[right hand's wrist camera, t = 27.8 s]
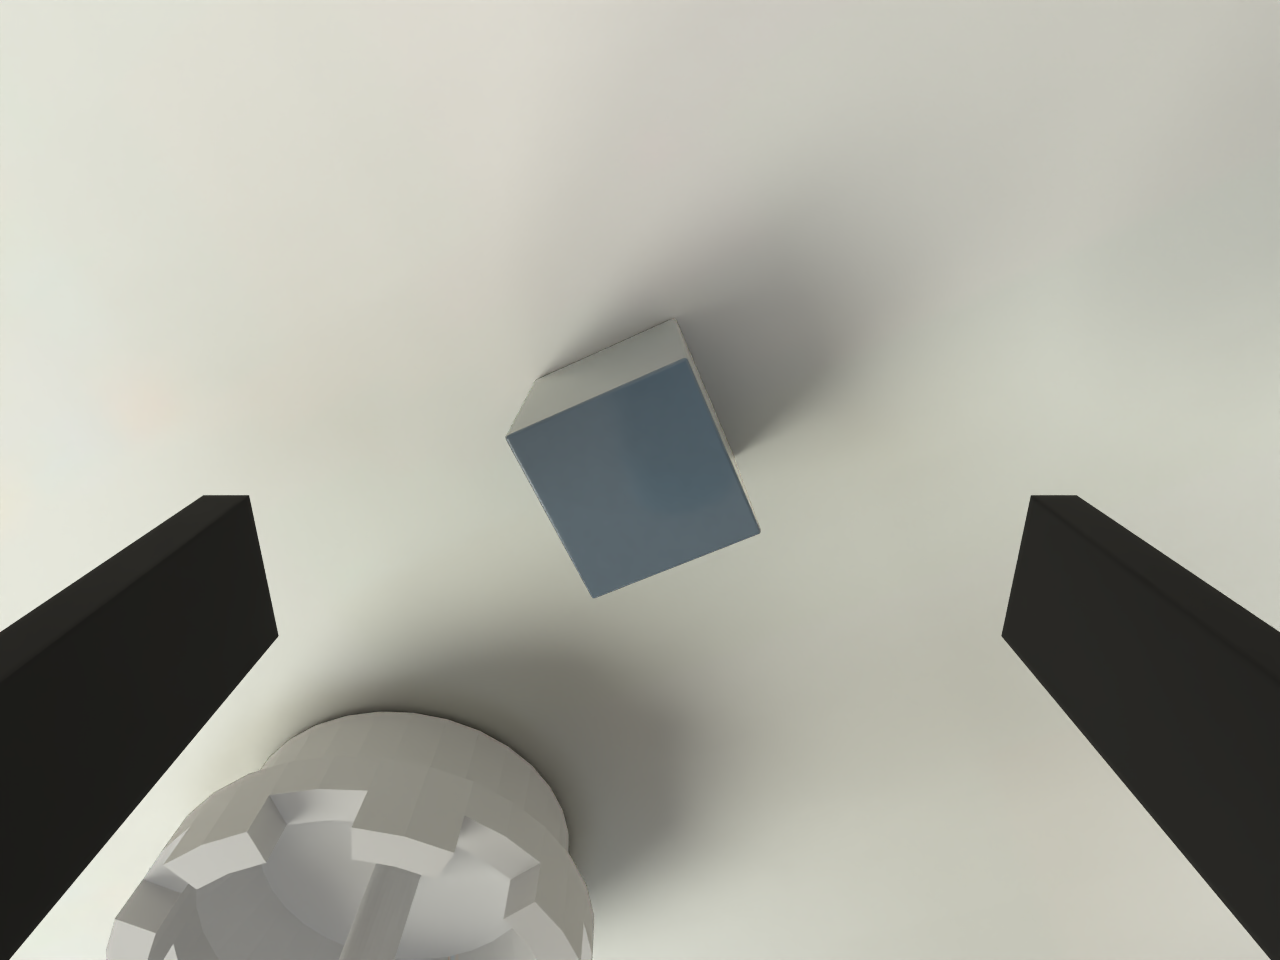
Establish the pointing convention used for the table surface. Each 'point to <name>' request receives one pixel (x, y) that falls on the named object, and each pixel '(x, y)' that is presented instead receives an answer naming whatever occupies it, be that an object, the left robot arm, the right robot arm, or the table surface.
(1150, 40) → the table surface
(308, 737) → the flag stand
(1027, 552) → the right robot arm
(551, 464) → the block
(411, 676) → the table surface
